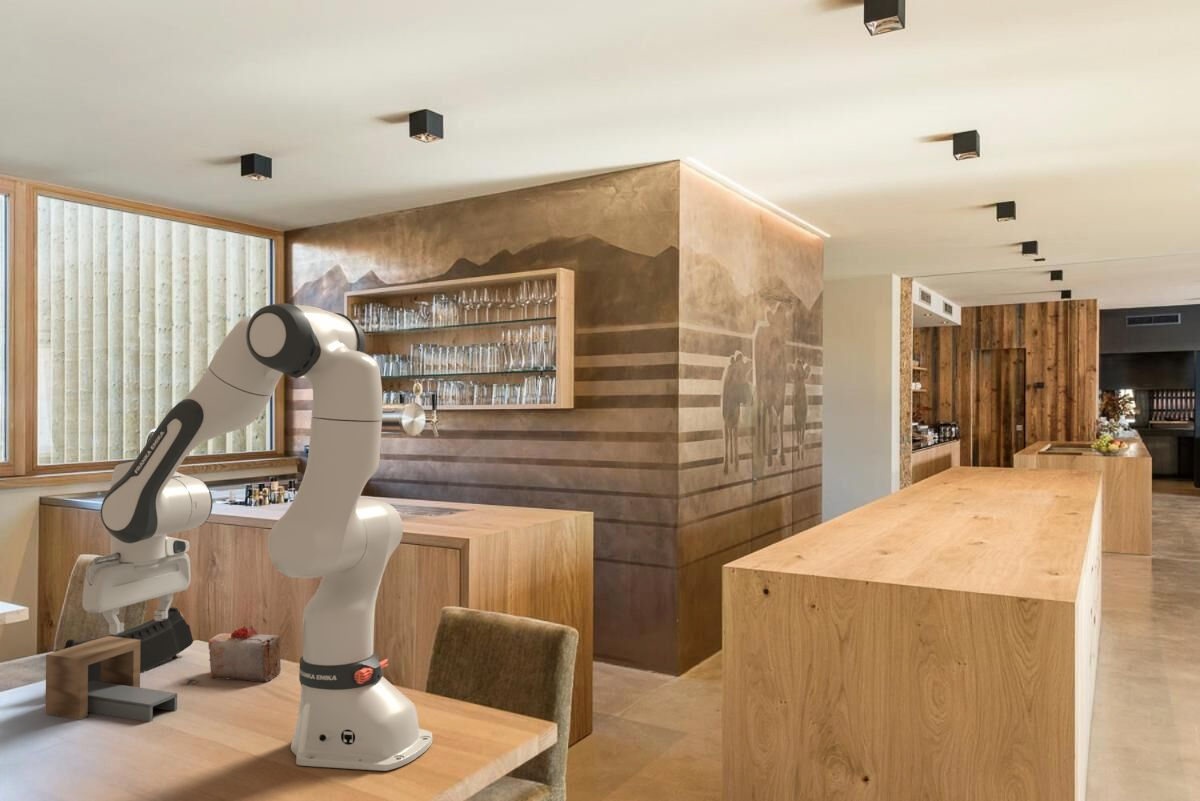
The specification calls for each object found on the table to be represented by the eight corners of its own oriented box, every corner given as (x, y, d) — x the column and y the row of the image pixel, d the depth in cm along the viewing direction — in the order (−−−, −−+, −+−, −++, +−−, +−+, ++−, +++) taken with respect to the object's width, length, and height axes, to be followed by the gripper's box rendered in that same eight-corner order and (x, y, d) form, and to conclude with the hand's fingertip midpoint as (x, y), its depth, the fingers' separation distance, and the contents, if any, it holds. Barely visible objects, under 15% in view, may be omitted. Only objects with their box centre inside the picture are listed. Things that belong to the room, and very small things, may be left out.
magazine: (50, 656, 151) (178, 577, 178) (37, 654, 152) (167, 576, 179) (74, 736, 156) (196, 648, 183) (62, 734, 157) (184, 646, 184)
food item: (201, 680, 165) (202, 631, 166) (226, 668, 173) (226, 620, 173) (264, 685, 163) (264, 634, 163) (286, 672, 171) (286, 624, 171)
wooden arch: (139, 695, 156) (140, 639, 156) (79, 719, 144) (80, 659, 144) (107, 690, 159) (107, 635, 159) (45, 714, 147) (46, 654, 147)
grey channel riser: (177, 709, 149) (177, 693, 150) (149, 721, 144) (149, 704, 144) (92, 696, 156) (92, 680, 156) (62, 707, 150) (62, 691, 150)
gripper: (101, 559, 138) (102, 643, 138) (196, 540, 157) (197, 614, 157) (72, 558, 140) (73, 640, 140) (170, 539, 159) (170, 612, 159)
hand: (139, 626), depth 148 cm, fingers open, 8 cm apart
